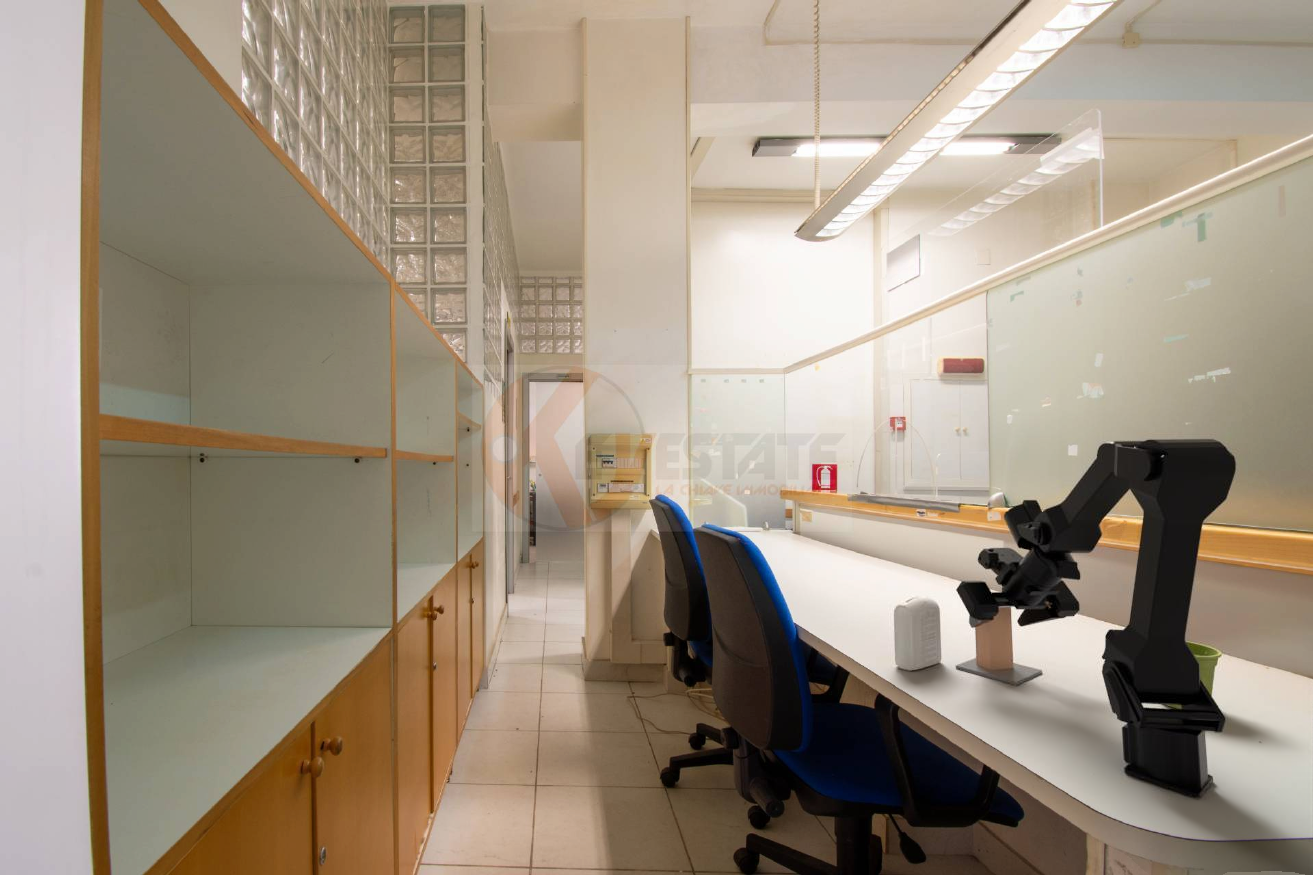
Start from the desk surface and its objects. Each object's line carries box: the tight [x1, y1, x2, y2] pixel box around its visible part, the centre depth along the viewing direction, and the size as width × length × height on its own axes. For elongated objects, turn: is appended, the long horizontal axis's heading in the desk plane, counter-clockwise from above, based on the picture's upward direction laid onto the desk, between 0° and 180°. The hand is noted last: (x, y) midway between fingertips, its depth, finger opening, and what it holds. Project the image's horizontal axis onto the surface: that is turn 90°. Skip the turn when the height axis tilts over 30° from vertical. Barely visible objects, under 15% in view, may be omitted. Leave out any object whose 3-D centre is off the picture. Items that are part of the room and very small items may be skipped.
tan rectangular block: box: [974, 607, 1014, 670], centre depth 101 cm, size 3×5×12 cm, turn 104°
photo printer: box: [893, 595, 942, 672], centre depth 104 cm, size 10×4×12 cm, turn 123°
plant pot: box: [1163, 640, 1223, 709], centre depth 85 cm, size 9×9×9 cm
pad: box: [955, 657, 1043, 686], centre depth 100 cm, size 10×10×1 cm
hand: (995, 624), depth 101 cm, fingers open, 9 cm apart
